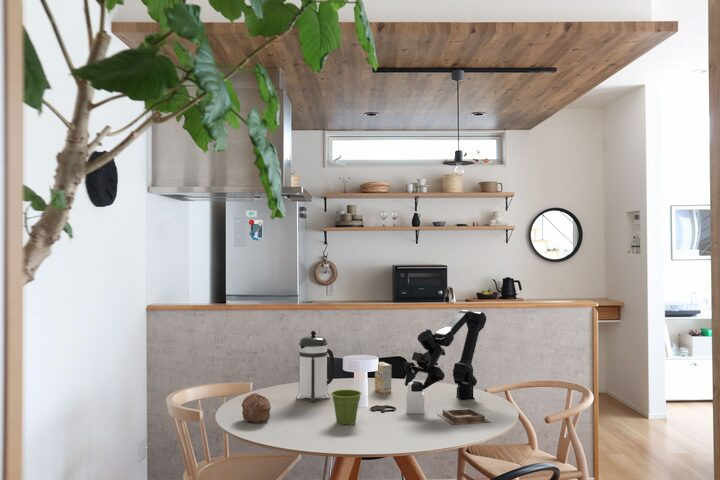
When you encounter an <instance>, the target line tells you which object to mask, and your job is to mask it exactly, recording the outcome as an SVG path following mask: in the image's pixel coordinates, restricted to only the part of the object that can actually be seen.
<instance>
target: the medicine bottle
mask: <svg viewBox="0 0 720 480" xmlns="http://www.w3.org/2000/svg"><path fill="white" fill-rule="evenodd" d="M423 384H424V383H423V382H421V381H418V380H417V381H416V380H415V381H414V380H412V381H411V382H409V383H408V385H407V391H406V395H405V396H406V406H405V408H406V412H405V413H406V414H411V415H412V414H413V415H414V414H416V415H417V414H418V415H419V414H420V415H423V414H425V392H424V391H423V389H422V386H423Z"/></svg>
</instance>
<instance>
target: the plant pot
mask: <svg viewBox="0 0 720 480" xmlns="http://www.w3.org/2000/svg"><path fill="white" fill-rule="evenodd" d="M362 394H363V393H362V392H361V391H360V390H356V389H337V390H334V391H333V390H332V391H331V392H330V395H331V397H332V401H333V405H334V413H335V421H336V423H337V424H339V425H354V424H355V423H356V422H357V414H358V408H359V402H360V400H361V399H360V398H361V396H362Z"/></svg>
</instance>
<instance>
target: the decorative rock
mask: <svg viewBox="0 0 720 480" xmlns="http://www.w3.org/2000/svg"><path fill="white" fill-rule="evenodd" d="M241 408H242V411H241V412H242V418H243V420H244V421H245V422H249V423H255V424H258V423H259V424H260V423H262V422H266V421H268V420H270V417H271V412H270V411H271V408H272V406H271V403H270V400H269V399H268V398H267V397H266V396H263V395H261V394H259V393H256V392H255V393H251V394H250V395H247V396H245V397H244V399H243V400H242V403H241Z"/></svg>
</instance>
